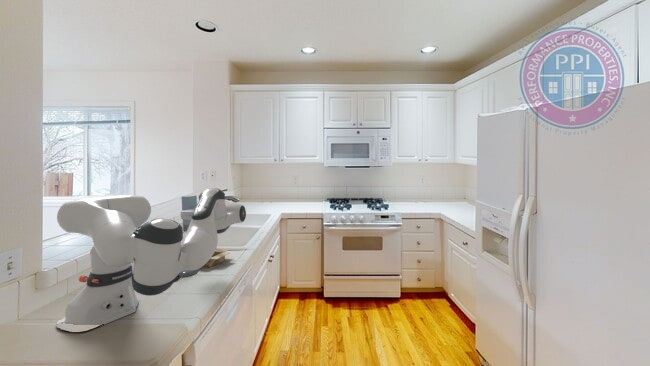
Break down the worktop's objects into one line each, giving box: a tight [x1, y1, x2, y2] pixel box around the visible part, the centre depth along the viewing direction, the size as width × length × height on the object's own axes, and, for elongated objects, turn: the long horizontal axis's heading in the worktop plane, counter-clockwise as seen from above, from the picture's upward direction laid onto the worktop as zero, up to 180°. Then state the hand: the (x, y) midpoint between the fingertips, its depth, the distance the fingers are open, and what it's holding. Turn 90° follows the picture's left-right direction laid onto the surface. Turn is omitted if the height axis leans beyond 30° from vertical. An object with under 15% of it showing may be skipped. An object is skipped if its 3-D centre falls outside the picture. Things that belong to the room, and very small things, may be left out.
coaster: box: [179, 269, 198, 278], centre depth 139 cm, size 10×10×1 cm
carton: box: [203, 248, 231, 268], centre depth 153 cm, size 18×18×4 cm
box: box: [181, 194, 198, 233], centre depth 141 cm, size 4×4×16 cm
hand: (188, 210), depth 142 cm, fingers closed on box, 4 cm apart
